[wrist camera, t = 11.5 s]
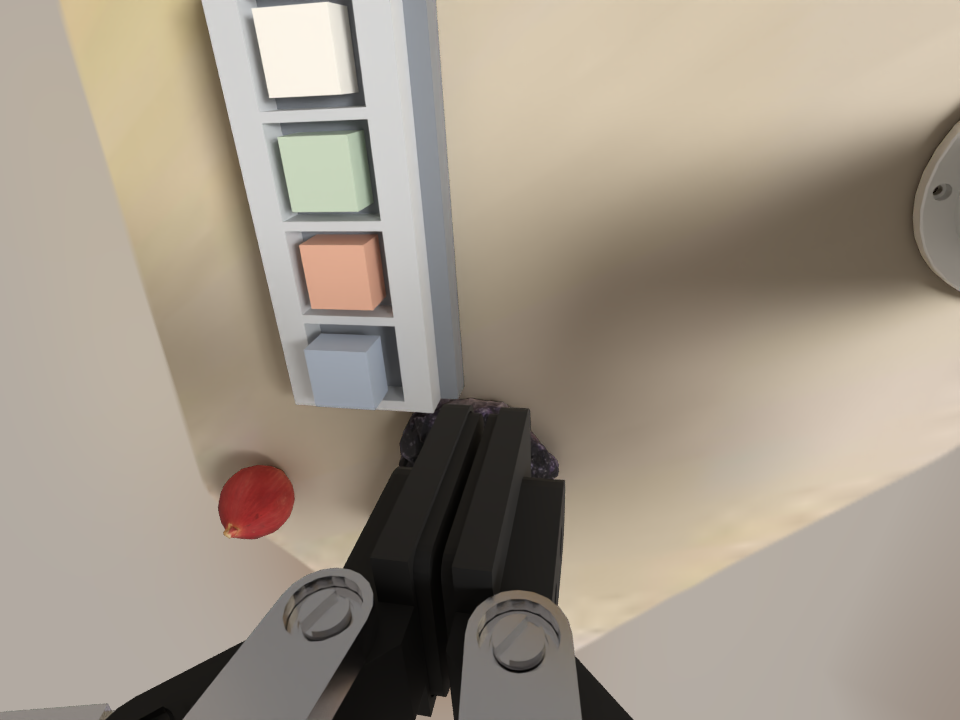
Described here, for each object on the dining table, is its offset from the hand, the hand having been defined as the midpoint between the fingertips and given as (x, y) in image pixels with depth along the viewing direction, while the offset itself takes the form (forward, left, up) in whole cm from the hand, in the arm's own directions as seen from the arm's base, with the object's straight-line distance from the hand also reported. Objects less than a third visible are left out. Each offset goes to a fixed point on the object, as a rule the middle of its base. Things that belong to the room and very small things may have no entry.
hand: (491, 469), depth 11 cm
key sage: (+14, -2, -25) cm, 29 cm away
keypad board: (+14, +1, -27) cm, 31 cm away
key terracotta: (+14, +4, -25) cm, 29 cm away
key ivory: (+14, -8, -25) cm, 30 cm away
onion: (+25, +24, -27) cm, 44 cm away
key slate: (+14, +10, -23) cm, 29 cm away
